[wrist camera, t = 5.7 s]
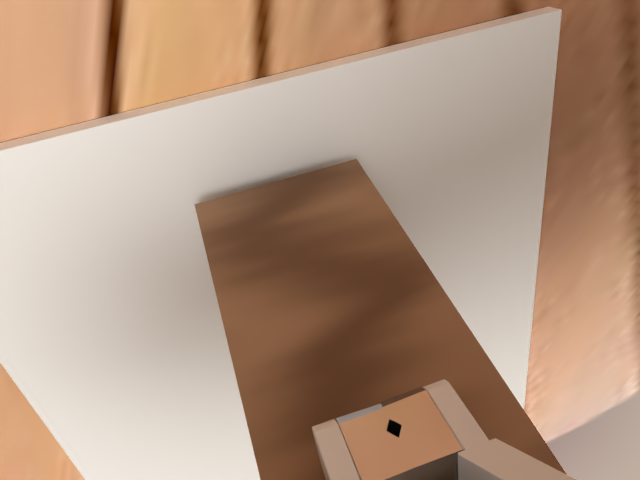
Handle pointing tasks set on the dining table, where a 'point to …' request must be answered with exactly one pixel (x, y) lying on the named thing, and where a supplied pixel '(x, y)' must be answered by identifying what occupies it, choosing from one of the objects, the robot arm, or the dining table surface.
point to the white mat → (245, 173)
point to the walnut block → (338, 317)
